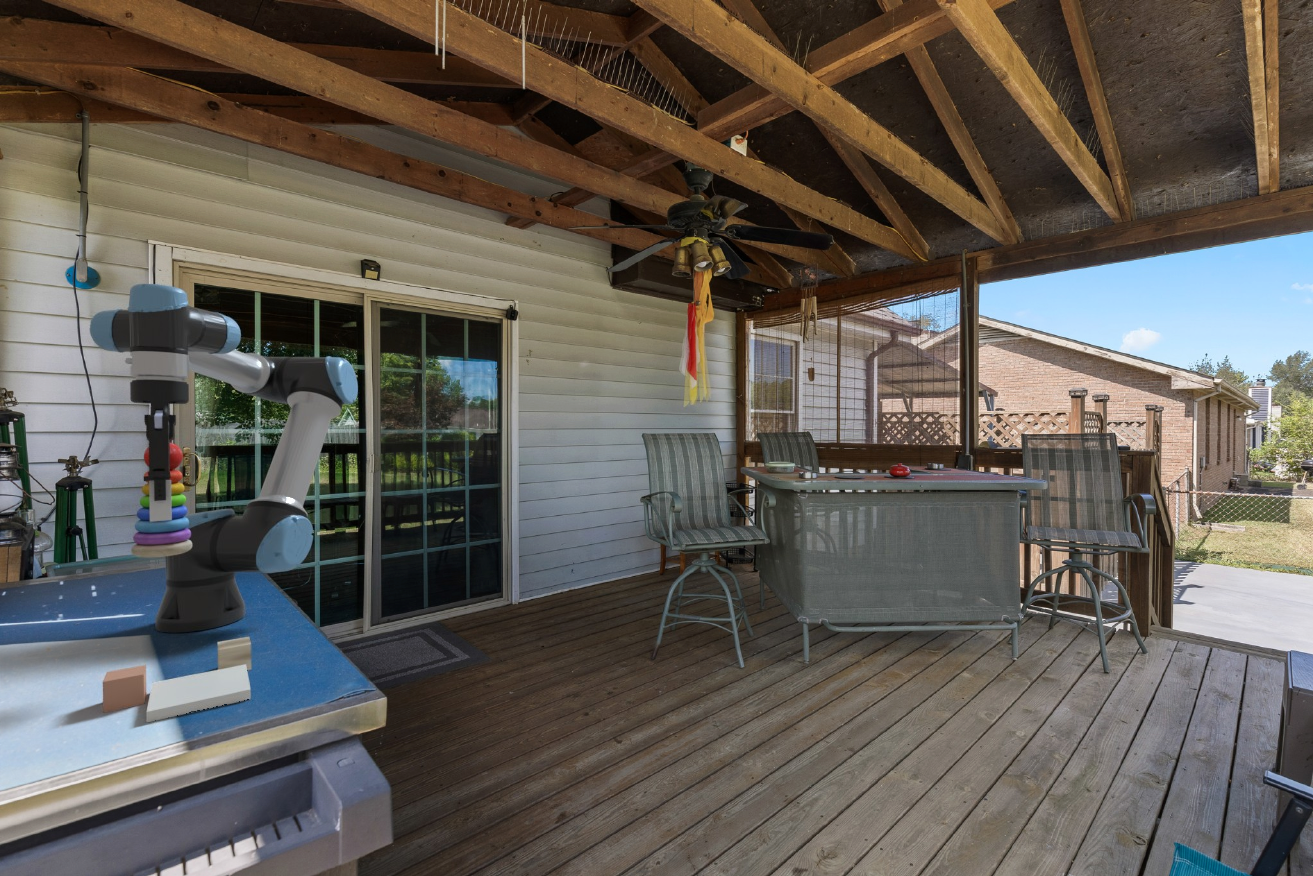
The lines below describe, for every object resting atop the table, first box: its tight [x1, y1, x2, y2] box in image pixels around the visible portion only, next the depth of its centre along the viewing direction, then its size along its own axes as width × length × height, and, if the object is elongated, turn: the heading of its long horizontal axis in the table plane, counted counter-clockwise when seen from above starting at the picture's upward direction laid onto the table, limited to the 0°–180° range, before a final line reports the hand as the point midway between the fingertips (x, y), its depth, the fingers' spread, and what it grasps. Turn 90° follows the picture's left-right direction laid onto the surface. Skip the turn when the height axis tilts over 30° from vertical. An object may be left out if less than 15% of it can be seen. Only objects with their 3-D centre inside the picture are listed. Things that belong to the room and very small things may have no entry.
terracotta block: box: [102, 664, 147, 713], centre depth 90 cm, size 4×4×4 cm
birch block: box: [217, 636, 252, 671], centre depth 102 cm, size 4×4×4 cm
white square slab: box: [146, 664, 252, 723], centre depth 92 cm, size 12×12×2 cm
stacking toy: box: [130, 442, 192, 559], centre depth 101 cm, size 8×8×19 cm
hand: (162, 517), depth 101 cm, fingers closed on stacking toy, 7 cm apart
